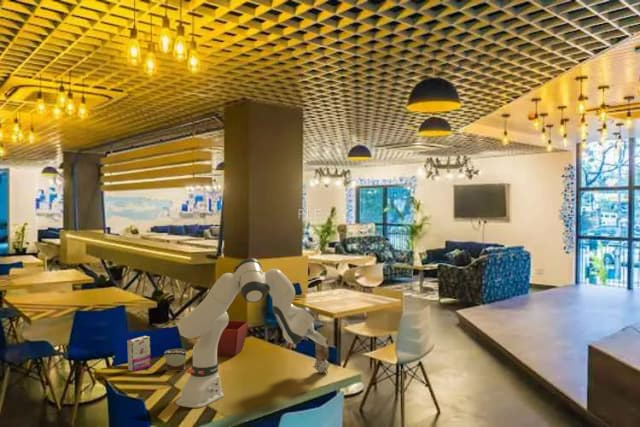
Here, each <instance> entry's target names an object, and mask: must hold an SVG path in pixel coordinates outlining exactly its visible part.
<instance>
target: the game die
mask: <svg viewBox="0 0 640 427" xmlns="http://www.w3.org/2000/svg"><path fill="white" fill-rule="evenodd" d="M315 359H316V360H315V363H314V366H312V368H314V369H315V370H316V371H317V372H318V375H320V374H321V373H327V374H328V373H329V372H328V369H329V366H330V365H331V364H332V363H330V362H329V361H328V359H321V360H319V359H318V358H316V357H315Z"/></svg>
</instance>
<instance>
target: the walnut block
mask: <svg viewBox="0 0 640 427" xmlns="http://www.w3.org/2000/svg"><path fill="white" fill-rule="evenodd" d="M323 337H324V338H325V339H326V344H327V345H328V347H327V348H325V347H324V346H322V345H320V344H318V343H317V342H315V341H314V342H315V344H314V345H315V359H316V358H317V359H319V360H321V359H326V360H328V359H329V338H327V337H325V336H323Z"/></svg>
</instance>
